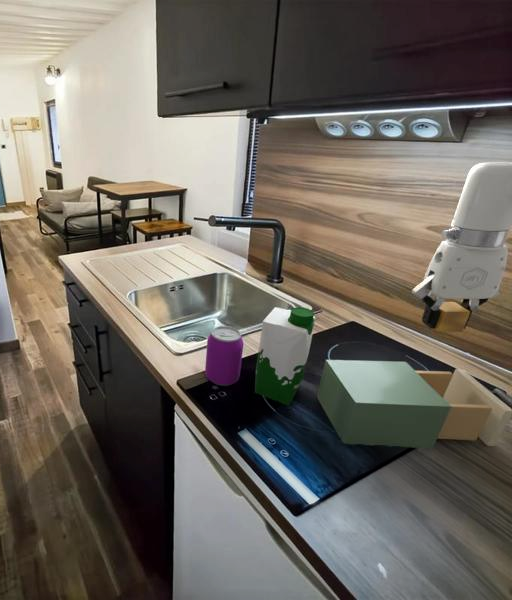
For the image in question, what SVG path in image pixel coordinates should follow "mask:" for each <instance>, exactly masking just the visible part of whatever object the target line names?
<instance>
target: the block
mask: <svg viewBox="0 0 512 600" xmlns="http://www.w3.org/2000/svg"><path fill="white" fill-rule="evenodd" d="M459 304H460V303H457V302H455V301H444V302H443V303H442V305H441V306H440V308H439V309H438V310H440V311H441V314H440V317H439V320H438V322H437V325H436V328H434V329H433V330H435V331H436V332H443V333H444V332H445V333H446V332H448V333H449V332H450V333H451V332H452V333H462V332H463V331H464V330H465V329H464V327H465V324H466V322H467V319H468V317H469V314H470V311H468V310H467V309H465V308H463V307H462V306H460V305H459Z"/></svg>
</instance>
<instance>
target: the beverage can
mask: <svg viewBox="0 0 512 600" xmlns="http://www.w3.org/2000/svg"><path fill="white" fill-rule="evenodd" d="M243 352H244V340H243V337H242V334H241V331H240V330H239V329H237V328H236V327H233V326H227V325H219V326H216V327H214V328H212V329H211V331H210V334H209V335H208V338H207V341H206V353H205V354H206V355H205V356H206V357H205V367H204V368H205V369H204V373H205V377H206V378H207V379H208V380H209V381H210V382H211V383H213V384H215V385H218V386H223V387H226V386H231V385H234V384H236V383H237V382H238V381H239V379H240V375H241V368H242V359H243Z"/></svg>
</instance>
